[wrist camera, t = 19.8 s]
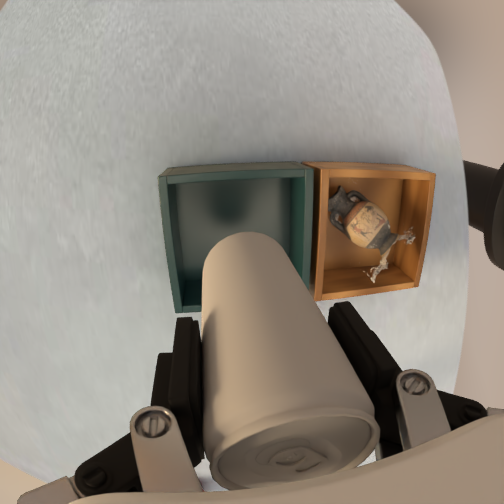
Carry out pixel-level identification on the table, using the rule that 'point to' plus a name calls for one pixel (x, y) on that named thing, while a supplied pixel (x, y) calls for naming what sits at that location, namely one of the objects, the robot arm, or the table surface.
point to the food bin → (349, 254)
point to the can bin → (232, 216)
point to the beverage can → (274, 374)
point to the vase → (364, 224)
